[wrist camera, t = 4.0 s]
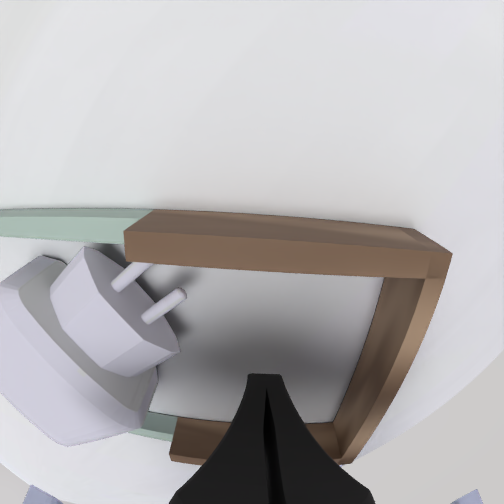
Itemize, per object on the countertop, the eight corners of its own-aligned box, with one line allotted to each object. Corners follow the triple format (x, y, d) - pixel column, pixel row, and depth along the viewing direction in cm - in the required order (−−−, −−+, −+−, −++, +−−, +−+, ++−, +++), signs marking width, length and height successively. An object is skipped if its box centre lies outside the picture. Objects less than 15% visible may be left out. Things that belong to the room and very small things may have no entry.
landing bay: (179, 425, 16) (175, 442, 14) (0, 368, 16) (-8, 378, 14) (154, 209, 11) (141, 218, 9) (-49, 212, 11) (-63, 218, 9)
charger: (249, 323, 13) (91, 407, 16) (117, 167, 11) (5, 319, 14) (246, 400, 9) (69, 453, 12) (47, 183, 6) (-32, 355, 9)
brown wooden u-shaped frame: (343, 429, 16) (351, 463, 13) (179, 425, 16) (171, 460, 13) (414, 229, 11) (452, 253, 8) (154, 209, 11) (123, 230, 8)
